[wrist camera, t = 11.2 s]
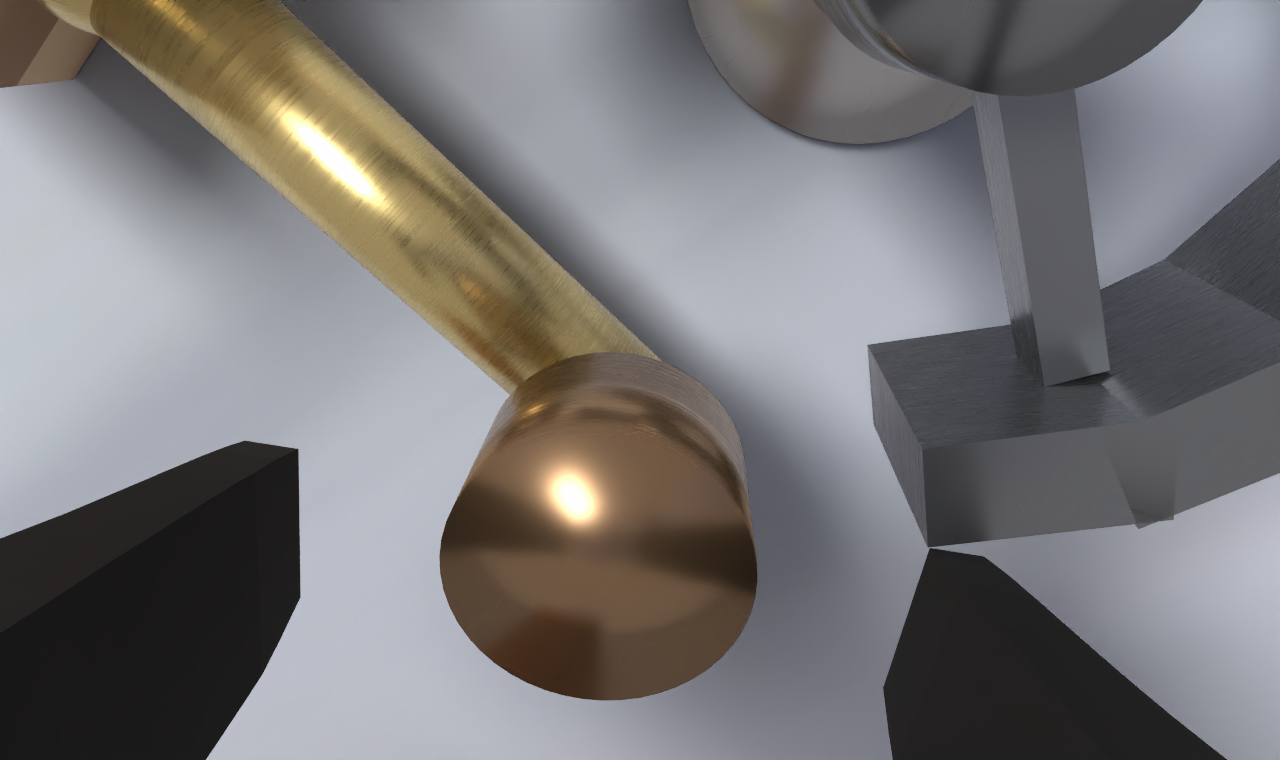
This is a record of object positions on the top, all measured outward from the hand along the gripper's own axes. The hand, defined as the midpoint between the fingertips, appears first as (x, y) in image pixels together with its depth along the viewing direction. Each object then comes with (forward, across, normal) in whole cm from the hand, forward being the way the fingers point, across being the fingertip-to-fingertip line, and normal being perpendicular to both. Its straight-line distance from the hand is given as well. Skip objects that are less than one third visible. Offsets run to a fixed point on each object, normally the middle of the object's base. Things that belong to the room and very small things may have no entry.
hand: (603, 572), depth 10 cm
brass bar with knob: (+5, +4, -3) cm, 7 cm away
